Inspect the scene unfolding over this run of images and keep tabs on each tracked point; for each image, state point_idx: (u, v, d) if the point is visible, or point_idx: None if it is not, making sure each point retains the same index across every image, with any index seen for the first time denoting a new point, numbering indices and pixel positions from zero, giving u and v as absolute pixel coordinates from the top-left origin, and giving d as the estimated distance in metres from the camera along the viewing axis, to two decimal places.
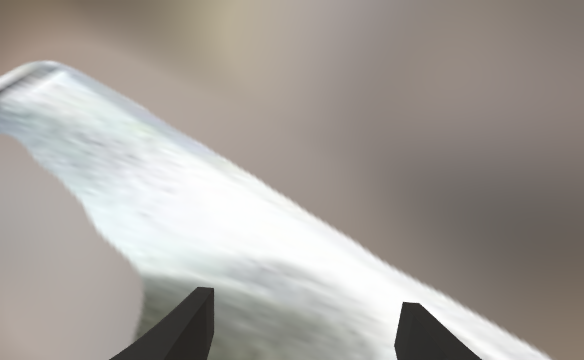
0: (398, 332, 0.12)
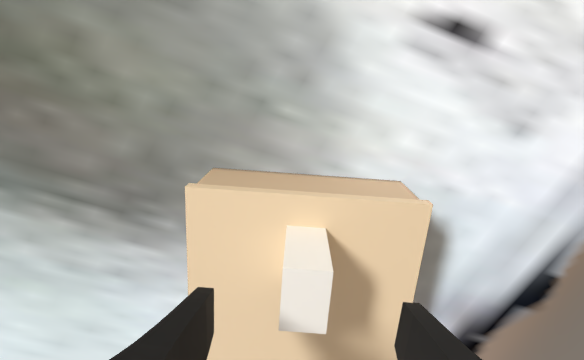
0: (398, 332, 0.12)
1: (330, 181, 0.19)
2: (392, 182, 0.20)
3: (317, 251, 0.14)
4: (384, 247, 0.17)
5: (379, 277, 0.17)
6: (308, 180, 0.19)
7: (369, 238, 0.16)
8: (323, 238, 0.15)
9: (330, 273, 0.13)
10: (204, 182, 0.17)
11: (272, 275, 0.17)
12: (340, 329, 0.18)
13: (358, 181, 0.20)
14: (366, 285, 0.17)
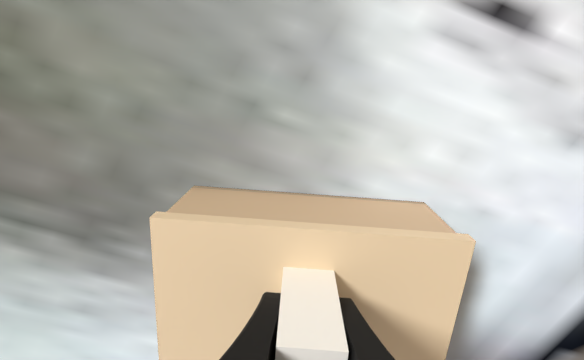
0: None
1: (338, 204, 0.15)
2: (415, 204, 0.16)
3: (325, 312, 0.10)
4: (410, 294, 0.13)
5: (402, 331, 0.13)
6: (311, 203, 0.15)
7: (391, 283, 0.13)
8: (331, 288, 0.11)
9: (344, 353, 0.09)
10: (178, 208, 0.14)
11: None
12: None
13: (373, 203, 0.16)
14: (385, 341, 0.13)
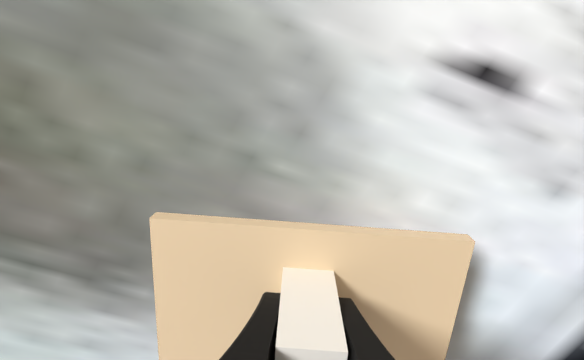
0: None
1: None
2: None
3: (324, 312, 0.10)
4: (409, 294, 0.13)
5: (401, 332, 0.13)
6: None
7: (390, 283, 0.13)
8: (331, 288, 0.11)
9: (343, 354, 0.09)
10: None
11: None
12: None
13: None
14: (385, 341, 0.14)
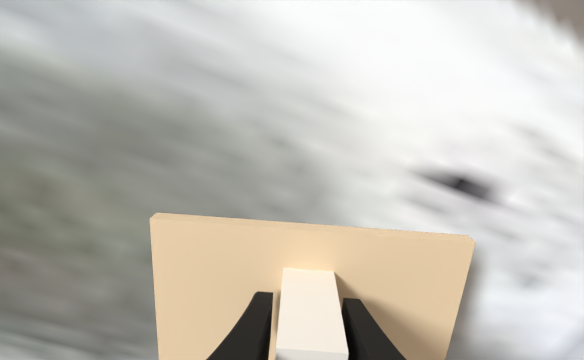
0: None
1: None
2: None
3: (325, 313, 0.10)
4: (410, 295, 0.13)
5: (402, 332, 0.13)
6: None
7: (390, 284, 0.13)
8: (331, 289, 0.11)
9: (344, 355, 0.09)
10: None
11: None
12: None
13: None
14: None
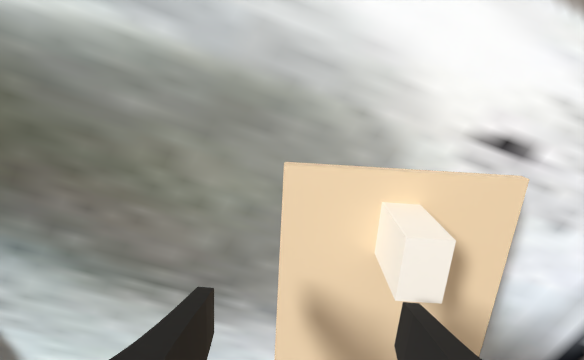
0: (398, 332, 0.12)
1: None
2: None
3: (428, 223, 0.14)
4: (477, 222, 0.17)
5: (469, 253, 0.17)
6: None
7: (463, 214, 0.17)
8: (425, 213, 0.16)
9: (452, 242, 0.13)
10: None
11: (363, 252, 0.18)
12: (427, 305, 0.18)
13: None
14: (456, 261, 0.18)
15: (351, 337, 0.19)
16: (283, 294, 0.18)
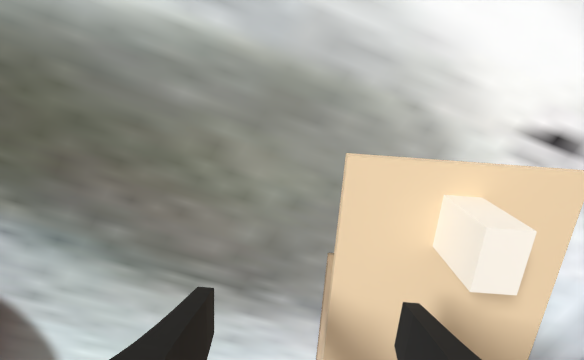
0: (398, 332, 0.12)
1: None
2: None
3: (500, 215, 0.14)
4: (538, 216, 0.17)
5: None
6: None
7: (524, 207, 0.17)
8: (491, 205, 0.15)
9: (533, 233, 0.13)
10: None
11: (421, 245, 0.17)
12: (481, 300, 0.18)
13: None
14: None
15: None
16: (337, 287, 0.18)
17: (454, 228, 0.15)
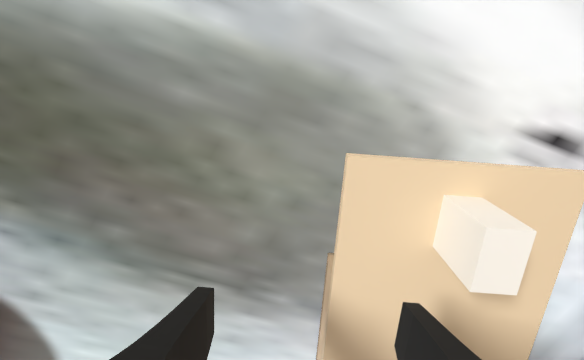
0: (398, 332, 0.12)
1: None
2: None
3: (500, 215, 0.14)
4: (538, 216, 0.17)
5: None
6: None
7: (524, 207, 0.17)
8: (491, 205, 0.15)
9: (533, 233, 0.13)
10: None
11: (421, 245, 0.17)
12: (481, 300, 0.18)
13: None
14: None
15: None
16: (337, 287, 0.18)
17: (454, 228, 0.15)
